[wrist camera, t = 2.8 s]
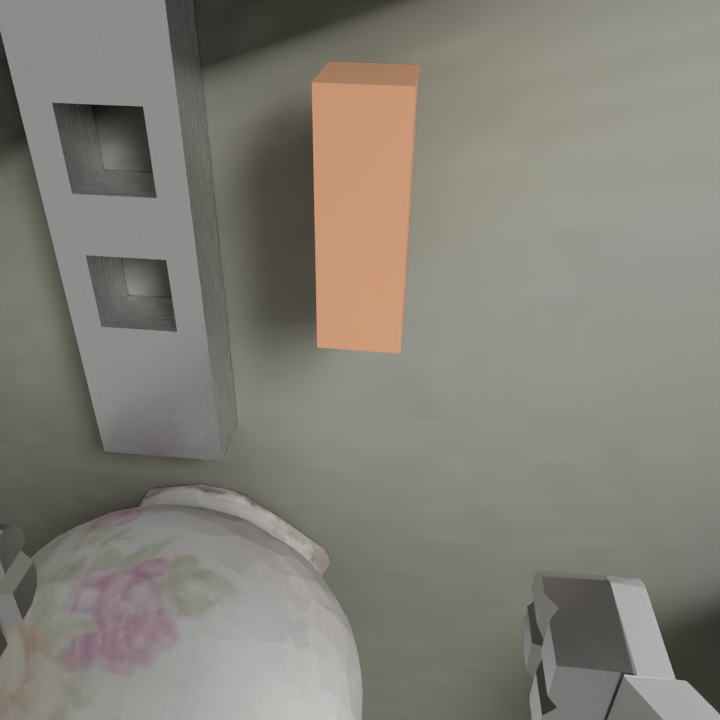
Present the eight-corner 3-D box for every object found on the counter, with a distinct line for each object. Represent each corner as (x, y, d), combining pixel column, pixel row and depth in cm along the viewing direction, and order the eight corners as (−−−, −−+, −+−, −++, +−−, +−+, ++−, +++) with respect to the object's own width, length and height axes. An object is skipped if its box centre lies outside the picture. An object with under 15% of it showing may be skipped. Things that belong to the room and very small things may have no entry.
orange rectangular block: (341, 45, 25) (311, 82, 19) (421, 48, 25) (415, 86, 19) (341, 265, 30) (317, 347, 24) (408, 268, 30) (400, 353, 24)
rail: (8, -142, 23) (-45, -149, 21) (178, -140, 23) (146, -147, 20) (127, 415, 36) (104, 451, 34) (237, 423, 36) (222, 461, 33)
